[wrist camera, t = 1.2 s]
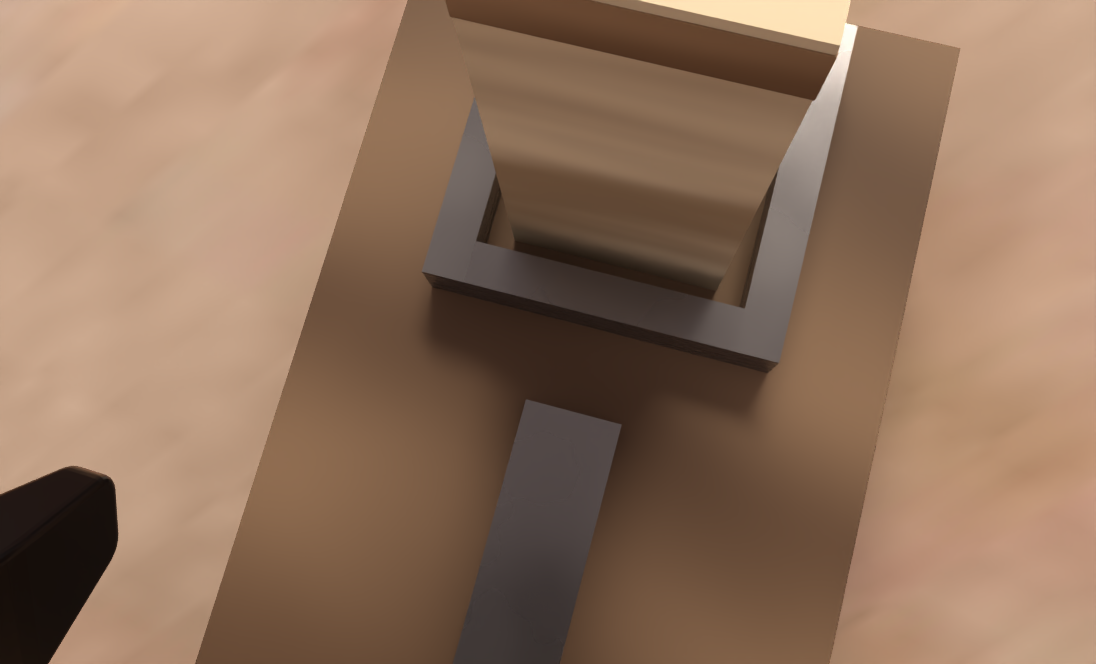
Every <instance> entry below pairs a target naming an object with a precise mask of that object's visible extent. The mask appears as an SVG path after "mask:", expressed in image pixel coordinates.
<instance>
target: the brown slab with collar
mask: <svg viewBox="0 0 1096 664" xmlns="http://www.w3.org/2000/svg"><path fill="white" fill-rule="evenodd" d="M959 52H960V48H956V47H952V46H947V45H943V44H938V43H934V42H929V41H925V40H920V39H916V38H911V37H907V36H902V35H898V34H893V33H889V32H884V31H880V30H875V29H871V28H866V27H862V26H857V25H853V24H848V23H845V28H844V32H843V36H842V40H841V45H840V47H839V51H838V55H837V59H836V61H835V63H834V64H833V66H832V68H831V70H830V72H829V74H828V76H827V78H826V80H825V82H824V84H823V86H822V88H821V90H820V92H819V94H818V96H817V98H816V100H815V101H812V103H811V104H810V106H809V108H808V110H807V112H806V114H805V116H804V118H803V120H802V122H801V124H800V126H799V128H798V130H797V132H796V134H795V136H794V138H793V140H792V142H791V144H790V146H789V148H788V150H787V152H786V154H785V156H784V158H783V160H782V162H781V164H780V166H779V168H778V170H777V172H776V174H775V176H774V178H773V180H772V182H771V184H770V186H769V188H768V190H767V192H766V194H765V196H764V197H763V199H762V201H761V203H760V205H759V207H758V209H757V211H756V213H755V215H754V217H753V219H752V221H751V223H750V225H749V227H748V229H747V231H746V233H745V235H744V237H743V239H742V241H741V243H740V245H739V247H738V249H737V251H736V253H735V255H734V257H733V259H732V261H731V263H730V265H729V267H728V269H727V271H726V273H725V275H724V277H723V279H722V281H721V283H720V285H719V287H718V289H717V290H716V291H714V290H710V289H706V288H702V287H698V286H694V285H690V284H686V283H682V282H678V281H674V280H670V279H666V278H662V277H658V276H654V275H650V274H646V273H642V272H638V271H634V270H630V269H626V268H622V267H618V266H614V265H610V264H606V263H602V262H598V261H594V260H590V259H586V258H582V257H578V256H574V255H570V254H566V253H562V252H558V251H554V250H550V249H546V248H542V247H538V246H534V245H530V244H526V243H522V242H518V241H515V240H514V236H513V232H512V229H511V225H510V222H509V218H508V215H507V211H506V207H505V204H504V200H503V197H502V193H501V189H500V186H499V182H498V179H497V175H496V171H495V168H494V164H493V161H492V157H491V154H490V150H489V146H488V143H487V139H486V136H485V132H484V128H483V125H482V121H481V118H480V114H479V110H478V107H477V103H476V100H475V96H474V93H473V89H472V85H471V82H470V78H469V75H468V71H467V67H466V64H465V60H464V57H463V53H462V49H461V46H460V42H459V39H458V35H457V32H456V28H455V24H454V21H453V17H450V16H449V12H448V9H447V5H446V2H445V0H408V1H407V4H406V8H405V11H404V14H403V17H402V20H401V23H400V26H399V29H398V33H397V36H396V39H395V42H394V45H393V48H392V51H391V54H390V57H389V61H388V64H387V67H386V70H385V73H384V76H383V79H382V82H381V86H380V89H379V92H378V95H377V98H376V101H375V104H374V107H373V111H372V114H371V117H370V120H369V123H368V126H367V129H366V132H365V136H364V139H363V142H362V145H361V148H360V151H359V154H358V157H357V160H356V164H355V167H354V170H353V173H352V176H351V179H350V182H349V185H348V189H347V192H346V195H345V198H344V201H343V204H342V207H341V210H340V214H339V217H338V220H337V223H336V226H335V229H334V232H333V235H332V238H331V242H330V245H329V248H328V251H327V254H326V257H325V260H324V263H323V267H322V270H321V273H320V276H319V279H318V282H317V285H316V288H315V292H314V295H313V298H312V301H311V304H310V307H309V310H308V313H307V317H306V320H305V323H304V326H303V329H302V332H301V335H300V338H299V341H298V345H297V348H296V351H295V354H294V357H293V360H292V363H291V366H290V370H289V373H288V376H287V379H286V382H285V385H284V388H283V391H282V395H281V398H280V401H279V404H278V407H277V410H276V413H275V416H274V420H273V423H272V426H271V429H270V432H269V435H268V438H267V441H266V444H265V448H264V451H263V454H262V457H261V460H260V463H259V466H258V469H257V473H256V476H255V479H254V482H253V485H252V488H251V491H250V494H249V498H248V501H247V504H246V507H245V510H244V513H243V516H242V519H241V522H240V526H239V529H238V532H237V535H236V538H235V541H234V544H233V547H232V551H231V554H230V557H229V560H228V563H227V566H226V569H225V572H224V576H223V579H222V582H221V585H220V588H219V591H218V594H217V597H216V601H215V604H214V607H213V610H212V613H211V616H210V619H209V622H208V625H207V629H206V632H205V635H204V638H203V641H202V644H201V647H200V650H199V654H198V657H197V660H196V663H195V664H829V663H830V658H831V653H832V649H833V644H834V639H835V634H836V630H837V625H838V620H839V616H840V611H841V606H842V602H843V597H844V592H845V588H846V583H847V578H848V573H849V569H850V564H851V559H852V555H853V550H854V545H855V541H856V536H857V531H858V526H859V522H860V517H861V512H862V508H863V503H864V498H865V494H866V489H867V484H868V479H869V475H870V470H871V465H872V461H873V456H874V451H875V447H876V442H877V437H878V433H879V428H880V423H881V418H882V414H883V409H884V404H885V400H886V395H887V390H888V386H889V381H890V376H891V371H892V367H893V362H894V357H895V353H896V348H897V343H898V339H899V334H900V329H901V324H902V320H903V315H904V310H905V306H906V301H907V296H908V292H909V287H910V282H911V278H912V273H913V268H914V263H915V259H916V254H917V249H918V245H919V240H920V235H921V231H922V226H923V221H924V216H925V212H926V207H927V202H928V198H929V193H930V188H931V184H932V179H933V174H934V169H935V165H936V160H937V155H938V151H939V146H940V141H941V137H942V132H943V127H944V122H945V118H946V113H947V108H948V104H949V99H950V94H951V90H952V85H953V80H954V76H955V71H956V66H957V61H958V57H959Z"/></svg>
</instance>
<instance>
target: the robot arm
mask: <svg viewBox="0 0 1096 664" xmlns="http://www.w3.org/2000/svg"><path fill="white" fill-rule="evenodd" d="M117 542H118V522H117V507H116V492H115V485H114V483H113V481H112V479H111V478H110V477H108V476H107V475H104V474H101V473H98V472H95V471H92V470H88V469H85V468H82V467H78V466H69V467H65V468H62V469H59V470H57V471H55V472H52V473H50V474H47V475H45V476H43V477H40V478H38V479H36V480H33V481H31V482H28V483H26V484H24V485H21V486H19V487H17V488H14V489H12V490H10V491H7V492H5V493H2V494H0V664H48V663H49V662H50V660H51V658H52V657H53V655H54V653H55V652H56V650H57V648H58V647H59V645H60V644H61V642H62V640H63V639H64V637H65V635H66V634H67V632H68V630H69V629H70V627H71V625H72V624H73V622H74V621H75V619H76V617H77V616H78V614H79V612H80V611H81V609H82V607H83V606H84V604H85V602H86V601H87V599H88V598H89V596H90V594H91V593H92V591H93V589H94V588H95V586H96V584H97V583H98V581H99V579H100V578H101V576H102V575H103V573H104V571H105V570H106V568H107V566H108V565H109V563H110V561H111V559H112V557H113V555H114V553H115V550H116V547H117Z"/></svg>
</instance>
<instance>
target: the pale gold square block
mask: <svg viewBox="0 0 1096 664" xmlns="http://www.w3.org/2000/svg"><path fill="white" fill-rule="evenodd" d="M445 2H446V5H447V9H448V12H449V16H450V17H453V21H454V24H455V28H456V32H457V35H458V39H459V42H460V46H461V49H462V53H463V57H464V60H465V64H466V67H467V71H468V75H469V78H470V82H471V85H472V89H473V93H474V96H475V100H476V103H477V107H478V110H479V114H480V118H481V121H482V125H483V128H484V132H485V136H486V139H487V143H488V146H489V150H490V154H491V157H492V161H493V164H494V168H495V171H496V175H497V179H498V182H499V186H500V189H501V193H502V197H503V200H504V204H505V207H506V211H507V215H508V218H509V222H510V225H511V229H512V232H513V236H514V240H515V241H518V242H522V243H526V244H530V245H534V246H538V247H542V248H546V249H550V250H554V251H558V252H562V253H566V254H570V255H574V256H578V257H582V258H586V259H590V260H594V261H598V262H602V263H606V264H610V265H614V266H618V267H622V268H626V269H630V270H634V271H638V272H642V273H646V274H650V275H654V276H658V277H662V278H666V279H670V280H674V281H678V282H682V283H686V284H690V285H694V286H698V287H702V288H706V289H710V290H714V291H716V290H717V289H718V287H719V285H720V283H721V281H722V279H723V277H724V275H725V273H726V271H727V269H728V267H729V265H730V263H731V261H732V259H733V257H734V255H735V253H736V251H737V249H738V247H739V245H740V243H741V241H742V239H743V237H744V235H745V233H746V231H747V229H748V227H749V225H750V223H751V221H752V219H753V217H754V215H755V213H756V211H757V209H758V207H759V205H760V203H761V201H762V199H763V197H764V196H765V194H766V192H767V190H768V188H769V186H770V184H771V182H772V180H773V178H774V176H775V174H776V172H777V170H778V168H779V166H780V164H781V162H782V160H783V158H784V156H785V154H786V152H787V150H788V148H789V146H790V144H791V142H792V140H793V138H794V136H795V134H796V132H797V130H798V128H799V126H800V124H801V122H802V120H803V118H804V116H805V114H806V112H807V110H808V108H809V106H810V104H811V103H812V101H815V100H816V98H817V96H818V94H819V92H820V90H821V88H822V86H823V84H824V82H825V80H826V78H827V76H828V74H829V72H830V70H831V68H832V66H833V64H834V63H835V61H836V59H837V55H838V51H839V47H840V45H841V40H842V36H843V32H844V28H845V23H846V19H847V15H848V11H849V6H850V2H851V0H445Z"/></svg>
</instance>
